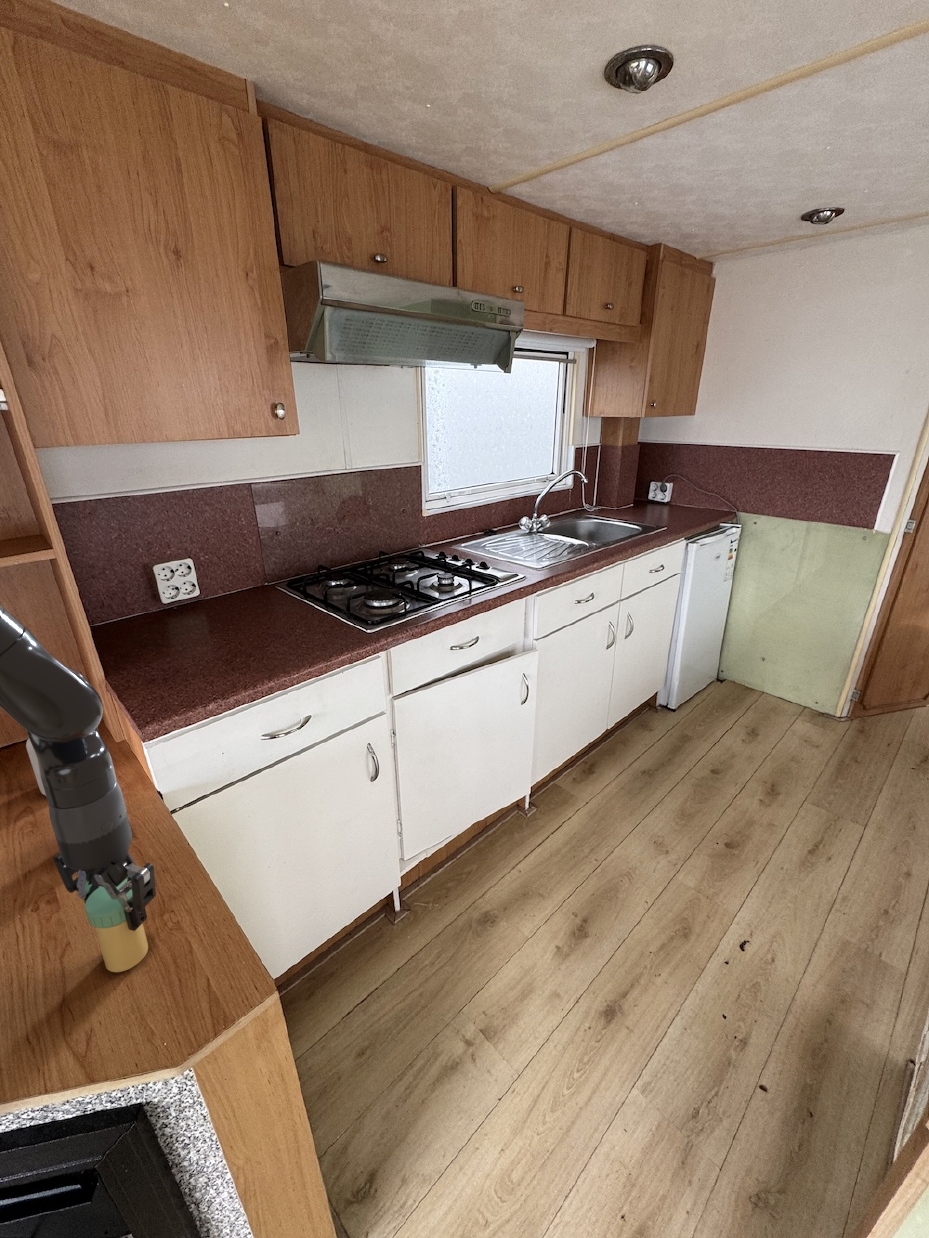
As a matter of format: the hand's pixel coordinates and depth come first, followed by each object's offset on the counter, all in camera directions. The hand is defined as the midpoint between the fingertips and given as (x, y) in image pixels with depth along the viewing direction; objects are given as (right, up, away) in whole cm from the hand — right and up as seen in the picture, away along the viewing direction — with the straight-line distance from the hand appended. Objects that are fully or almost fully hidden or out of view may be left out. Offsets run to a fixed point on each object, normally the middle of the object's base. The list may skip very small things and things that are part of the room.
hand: (118, 919), depth 73 cm
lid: (0, +4, -1) cm, 4 cm away
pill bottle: (-34, +7, +36) cm, 50 cm away
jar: (0, -6, +2) cm, 7 cm away
